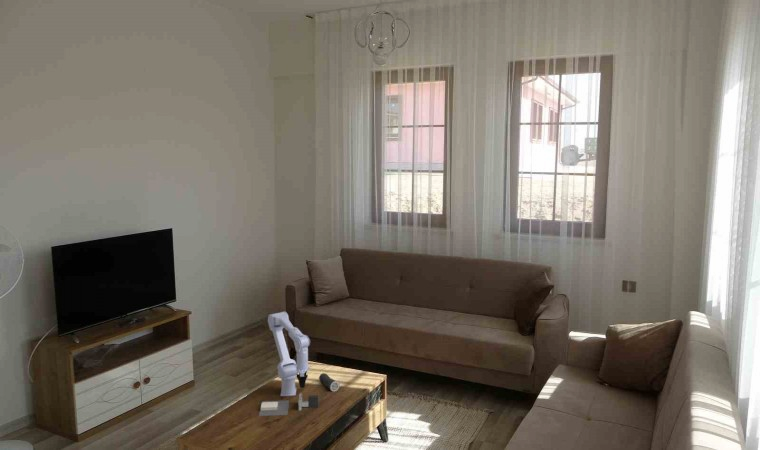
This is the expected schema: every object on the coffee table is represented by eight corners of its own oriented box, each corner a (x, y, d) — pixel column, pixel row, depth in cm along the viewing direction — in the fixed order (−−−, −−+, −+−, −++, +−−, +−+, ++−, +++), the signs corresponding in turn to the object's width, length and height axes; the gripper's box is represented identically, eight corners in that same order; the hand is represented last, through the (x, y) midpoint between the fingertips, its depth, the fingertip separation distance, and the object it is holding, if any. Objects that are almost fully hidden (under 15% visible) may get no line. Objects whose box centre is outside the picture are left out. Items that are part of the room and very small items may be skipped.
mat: (262, 402, 293) (262, 401, 293) (289, 401, 295) (289, 400, 294) (258, 416, 277) (258, 415, 277) (287, 415, 279) (287, 414, 279)
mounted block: (299, 404, 291) (299, 393, 291) (318, 403, 292) (318, 392, 291) (298, 411, 283) (298, 400, 283) (318, 411, 284) (318, 399, 283)
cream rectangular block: (278, 405, 289) (262, 405, 288) (277, 401, 289) (262, 402, 288) (277, 410, 283) (260, 411, 282) (277, 407, 283) (260, 407, 282)
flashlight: (318, 382, 319) (318, 373, 319) (326, 380, 322) (326, 371, 321) (330, 392, 306) (330, 382, 306) (339, 390, 309) (339, 380, 309)
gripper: (309, 364, 283) (310, 390, 285) (310, 354, 298) (310, 378, 300) (295, 364, 283) (296, 390, 285) (296, 354, 297) (297, 379, 299)
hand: (302, 384), depth 292 cm, fingers open, 7 cm apart
